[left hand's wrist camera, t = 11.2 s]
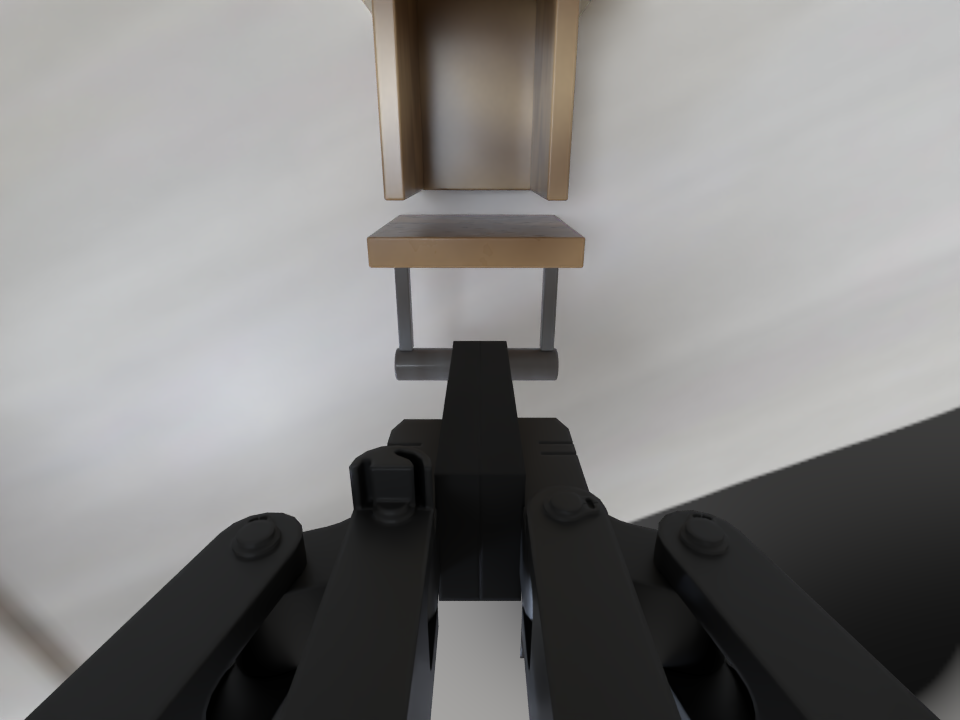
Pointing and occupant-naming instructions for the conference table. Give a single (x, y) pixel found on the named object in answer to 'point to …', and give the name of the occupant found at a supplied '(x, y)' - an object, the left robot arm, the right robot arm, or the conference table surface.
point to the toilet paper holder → (475, 149)
